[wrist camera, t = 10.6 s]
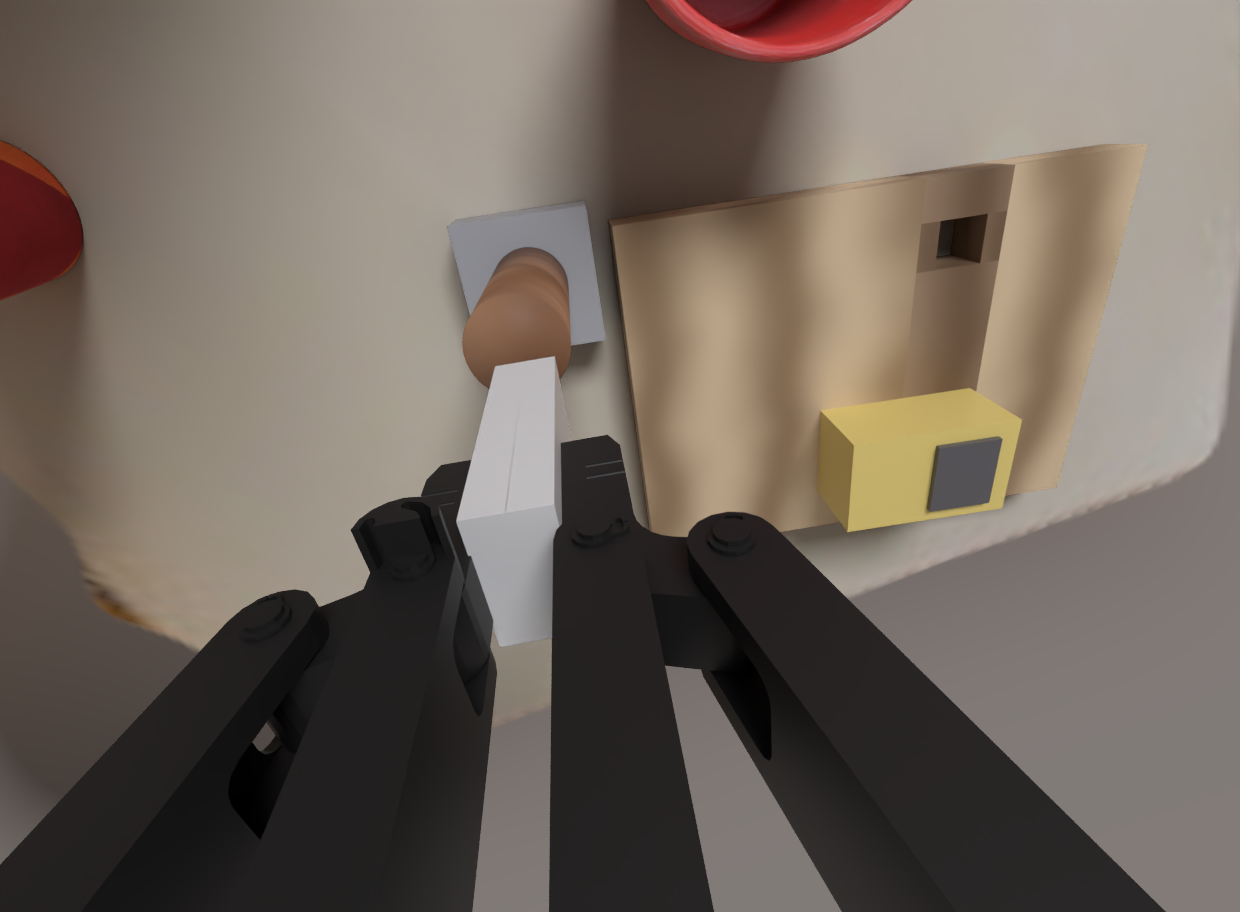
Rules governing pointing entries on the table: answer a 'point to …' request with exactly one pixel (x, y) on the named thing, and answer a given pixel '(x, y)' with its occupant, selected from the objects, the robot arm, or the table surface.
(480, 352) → the brown rounded cylinder
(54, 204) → the coffee cup
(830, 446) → the block
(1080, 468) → the table surface
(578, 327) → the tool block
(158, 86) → the table surface
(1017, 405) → the subfloor panel
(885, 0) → the flower pot
